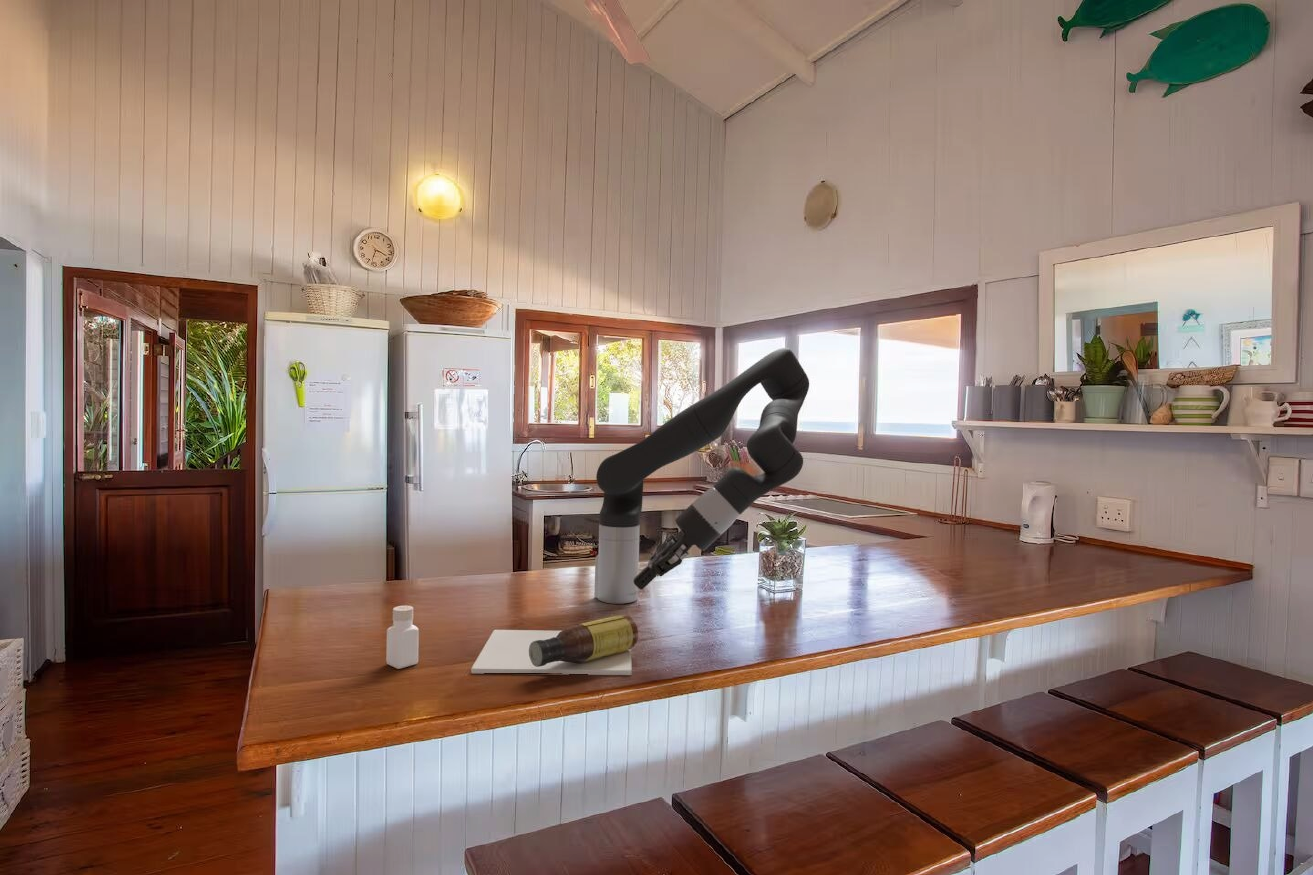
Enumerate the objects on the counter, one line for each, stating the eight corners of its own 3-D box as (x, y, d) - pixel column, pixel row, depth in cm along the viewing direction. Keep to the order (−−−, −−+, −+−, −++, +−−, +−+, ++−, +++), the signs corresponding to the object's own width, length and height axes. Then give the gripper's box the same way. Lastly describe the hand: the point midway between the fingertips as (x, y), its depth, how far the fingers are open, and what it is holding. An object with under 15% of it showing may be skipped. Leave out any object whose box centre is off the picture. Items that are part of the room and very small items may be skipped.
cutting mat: (471, 673, 114) (471, 668, 114) (494, 633, 134) (494, 629, 134) (631, 675, 116) (631, 670, 116) (630, 635, 136) (630, 631, 135)
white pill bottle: (406, 658, 120) (407, 603, 120) (419, 664, 118) (420, 608, 117) (384, 664, 117) (385, 607, 117) (397, 670, 115) (398, 612, 114)
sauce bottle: (615, 636, 129) (519, 657, 116) (623, 607, 127) (527, 624, 114) (636, 657, 124) (539, 681, 111) (645, 626, 123) (547, 647, 110)
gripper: (727, 540, 119) (652, 610, 119) (717, 526, 132) (649, 590, 132) (697, 508, 118) (621, 579, 118) (689, 498, 131) (622, 561, 131)
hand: (636, 585), depth 125 cm, fingers closed
